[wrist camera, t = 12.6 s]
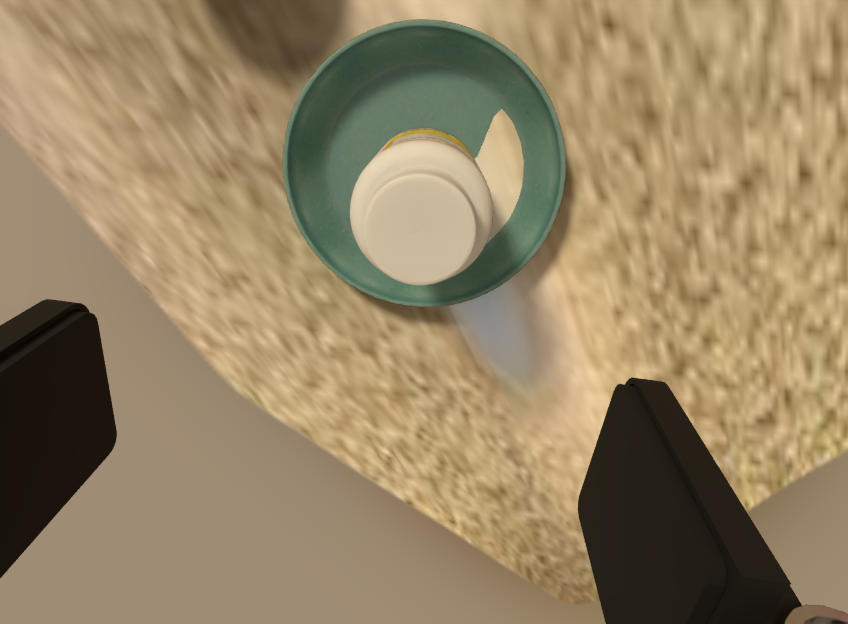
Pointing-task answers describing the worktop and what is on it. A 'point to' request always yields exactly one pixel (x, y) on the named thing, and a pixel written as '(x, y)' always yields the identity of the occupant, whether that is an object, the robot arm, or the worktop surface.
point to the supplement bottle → (421, 207)
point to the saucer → (413, 108)
